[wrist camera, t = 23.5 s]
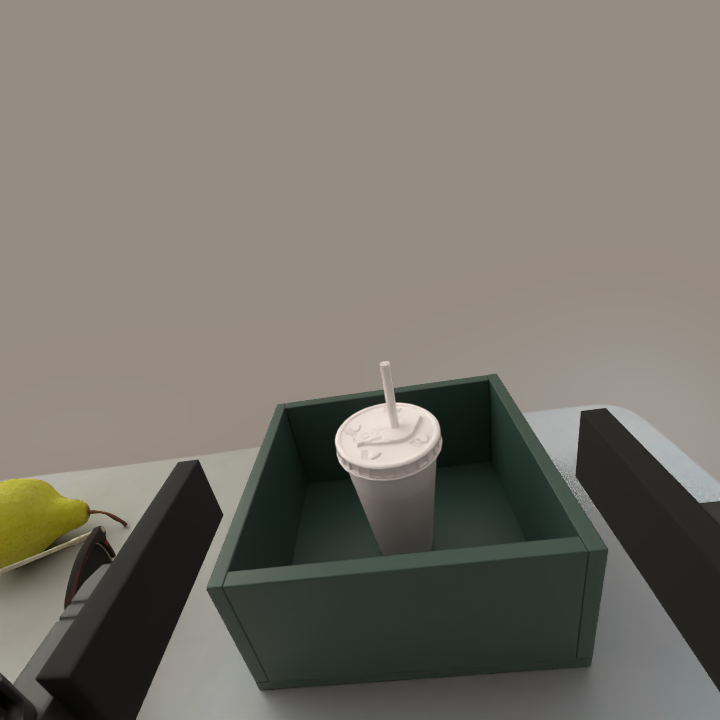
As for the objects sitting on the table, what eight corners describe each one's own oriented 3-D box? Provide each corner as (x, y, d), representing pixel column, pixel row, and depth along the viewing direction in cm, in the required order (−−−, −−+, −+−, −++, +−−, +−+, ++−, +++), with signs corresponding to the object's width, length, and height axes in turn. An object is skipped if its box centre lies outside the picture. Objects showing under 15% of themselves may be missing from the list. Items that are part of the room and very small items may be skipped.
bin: (498, 461, 34) (496, 373, 30) (591, 666, 20) (608, 549, 16) (302, 485, 36) (276, 404, 32) (259, 690, 21) (205, 589, 18)
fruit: (-60, 479, 30) (119, 458, 33) (-9, 490, 36) (138, 471, 39) (-83, 581, 27) (114, 545, 31) (-24, 575, 33) (135, 545, 37)
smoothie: (471, 558, 25) (459, 370, 19) (383, 604, 24) (340, 413, 18) (422, 494, 31) (400, 333, 25) (347, 528, 29) (305, 363, 23)
